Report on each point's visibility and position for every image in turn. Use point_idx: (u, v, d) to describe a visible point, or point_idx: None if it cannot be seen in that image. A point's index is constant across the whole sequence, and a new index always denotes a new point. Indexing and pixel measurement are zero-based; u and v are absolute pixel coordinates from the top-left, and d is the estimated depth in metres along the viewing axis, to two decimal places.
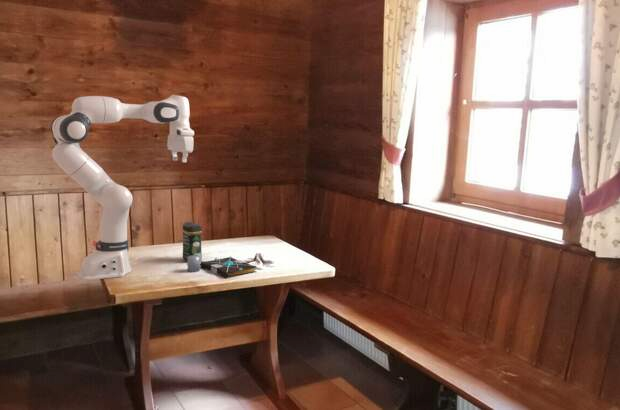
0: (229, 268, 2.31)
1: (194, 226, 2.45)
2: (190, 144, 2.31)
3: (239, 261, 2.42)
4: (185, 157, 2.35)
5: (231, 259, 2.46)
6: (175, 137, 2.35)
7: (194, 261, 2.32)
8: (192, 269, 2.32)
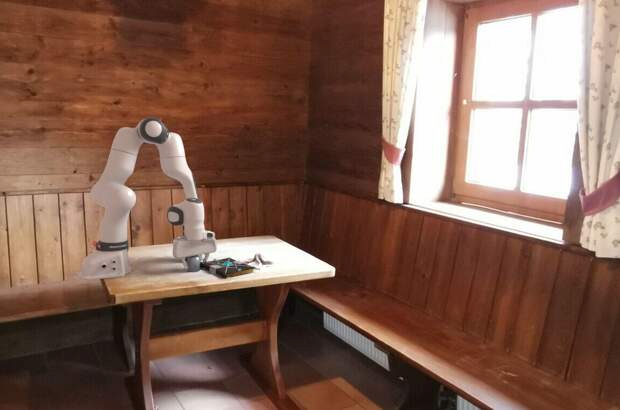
0: (228, 269, 2.31)
1: None
2: None
3: (238, 262, 2.41)
4: None
5: (230, 260, 2.46)
6: (200, 241, 2.31)
7: (194, 261, 2.32)
8: (192, 269, 2.32)
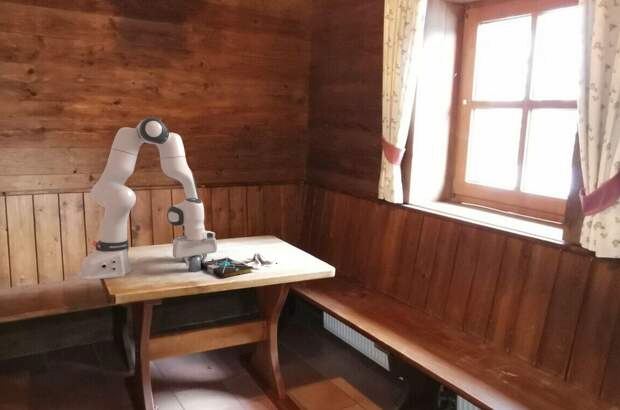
0: (225, 269, 2.31)
1: None
2: None
3: (236, 262, 2.41)
4: None
5: (228, 260, 2.45)
6: (200, 241, 2.31)
7: (195, 261, 2.32)
8: (193, 269, 2.32)
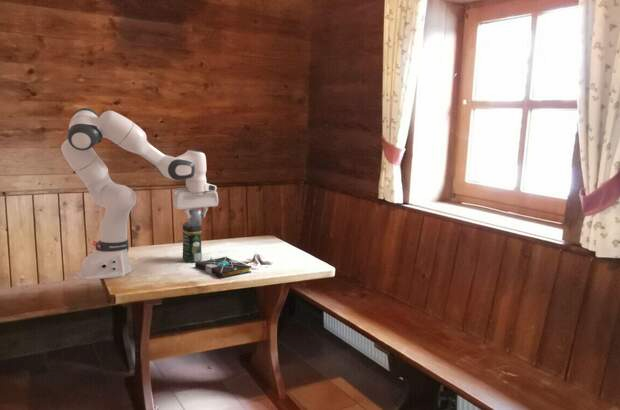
0: (224, 268, 2.31)
1: (194, 226, 2.45)
2: None
3: (234, 261, 2.41)
4: None
5: (226, 259, 2.45)
6: (202, 193, 2.28)
7: (196, 214, 2.29)
8: (194, 222, 2.30)
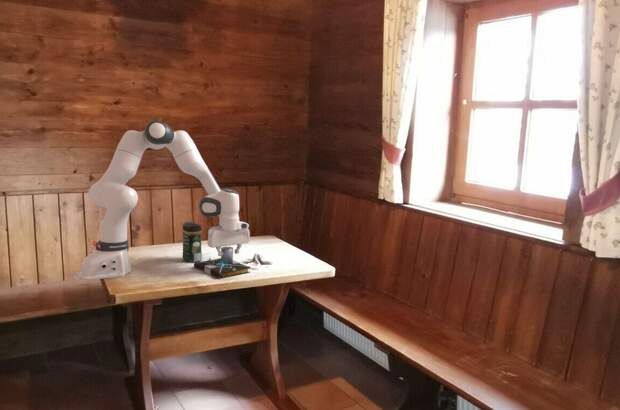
0: (222, 268, 2.30)
1: (194, 226, 2.45)
2: None
3: (233, 261, 2.41)
4: None
5: None
6: (235, 231, 2.34)
7: (228, 252, 2.35)
8: (226, 261, 2.36)
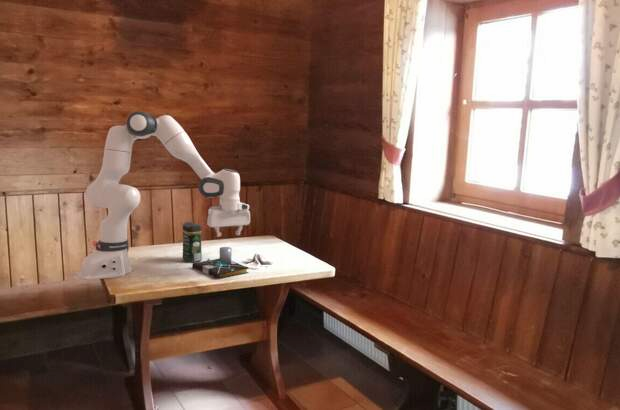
0: (221, 269, 2.29)
1: (194, 226, 2.45)
2: None
3: (231, 262, 2.40)
4: None
5: None
6: (235, 212, 2.32)
7: (227, 253, 2.35)
8: (224, 261, 2.35)
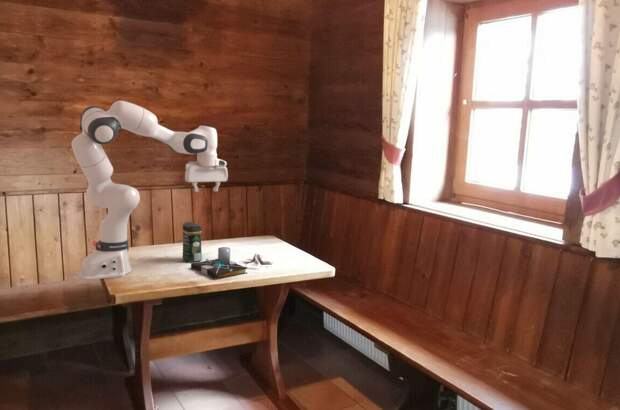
0: (219, 269, 2.29)
1: (194, 226, 2.45)
2: None
3: (230, 262, 2.39)
4: None
5: None
6: (212, 168, 2.37)
7: (225, 253, 2.34)
8: (223, 261, 2.34)
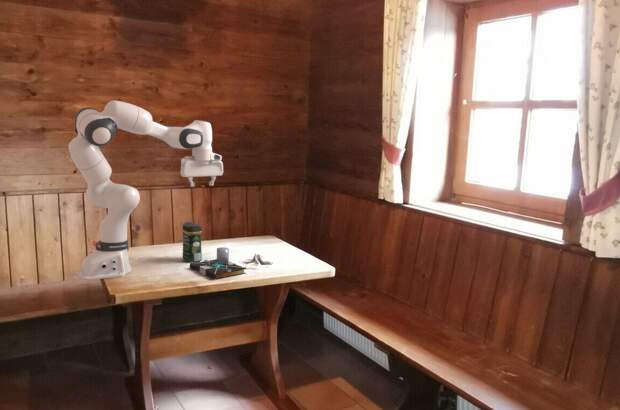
0: (218, 269, 2.28)
1: (194, 226, 2.45)
2: None
3: (229, 262, 2.39)
4: None
5: None
6: (207, 162, 2.37)
7: (224, 253, 2.34)
8: (222, 261, 2.34)
